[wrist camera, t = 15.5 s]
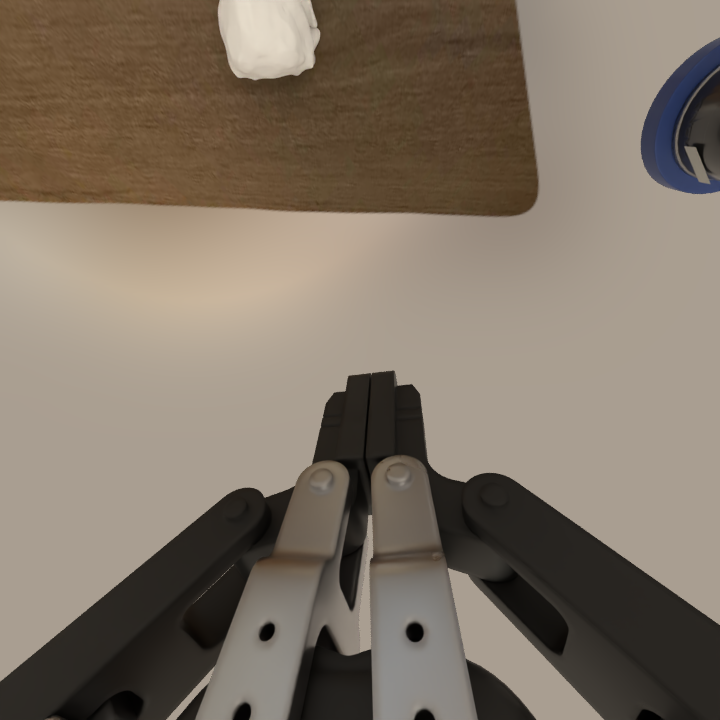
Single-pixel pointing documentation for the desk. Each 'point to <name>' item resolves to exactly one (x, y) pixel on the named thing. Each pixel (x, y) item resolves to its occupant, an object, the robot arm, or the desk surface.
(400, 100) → the desk surface
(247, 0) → the white animal figurine
